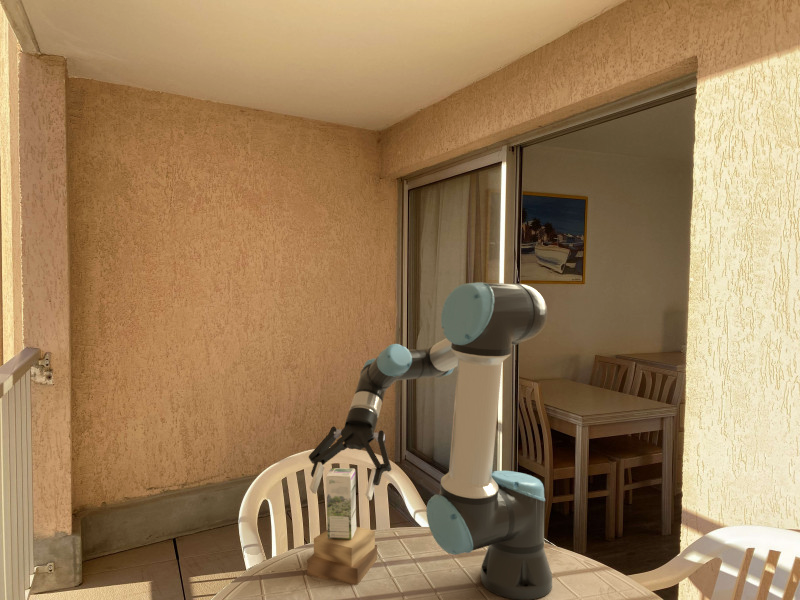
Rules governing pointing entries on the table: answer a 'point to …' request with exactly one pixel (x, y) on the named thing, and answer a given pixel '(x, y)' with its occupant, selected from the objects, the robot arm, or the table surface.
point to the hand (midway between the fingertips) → (340, 494)
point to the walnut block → (341, 568)
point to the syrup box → (341, 503)
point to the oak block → (345, 547)
